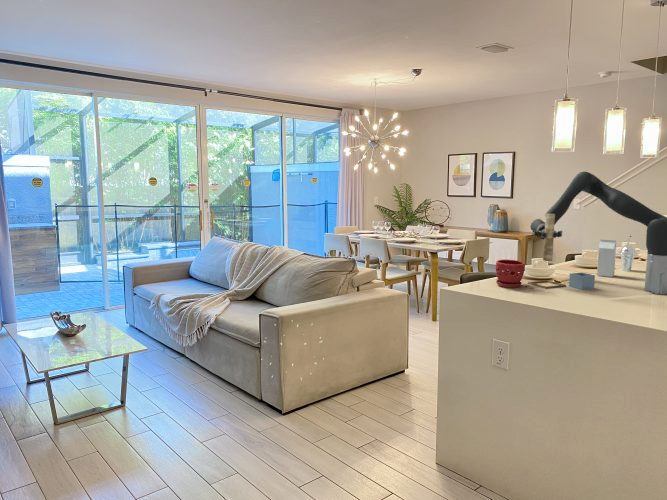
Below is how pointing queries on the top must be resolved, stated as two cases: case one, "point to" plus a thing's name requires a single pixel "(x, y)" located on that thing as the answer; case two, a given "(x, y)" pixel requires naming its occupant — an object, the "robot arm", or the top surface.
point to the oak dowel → (549, 237)
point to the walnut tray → (547, 286)
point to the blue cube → (581, 281)
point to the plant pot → (509, 273)
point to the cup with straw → (627, 257)
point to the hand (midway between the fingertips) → (550, 235)
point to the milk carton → (606, 258)
